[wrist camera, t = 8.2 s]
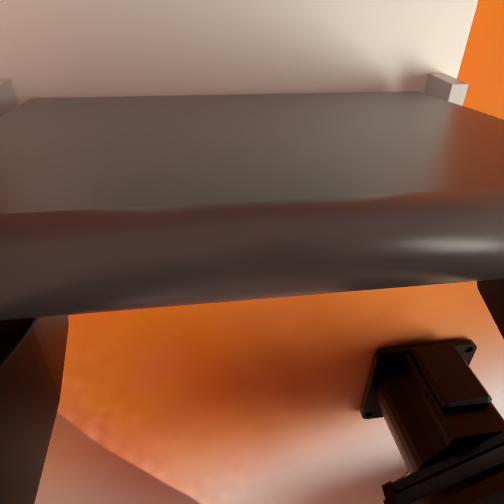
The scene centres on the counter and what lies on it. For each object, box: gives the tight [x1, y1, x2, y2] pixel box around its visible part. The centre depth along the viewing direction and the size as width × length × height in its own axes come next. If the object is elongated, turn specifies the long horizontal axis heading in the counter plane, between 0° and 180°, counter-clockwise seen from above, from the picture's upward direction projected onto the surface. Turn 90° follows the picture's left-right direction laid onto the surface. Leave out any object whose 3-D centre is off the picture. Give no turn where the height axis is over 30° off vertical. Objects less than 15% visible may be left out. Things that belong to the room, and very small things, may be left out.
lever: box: [0, 91, 504, 320], centre depth 11 cm, size 2×15×11 cm, turn 89°
